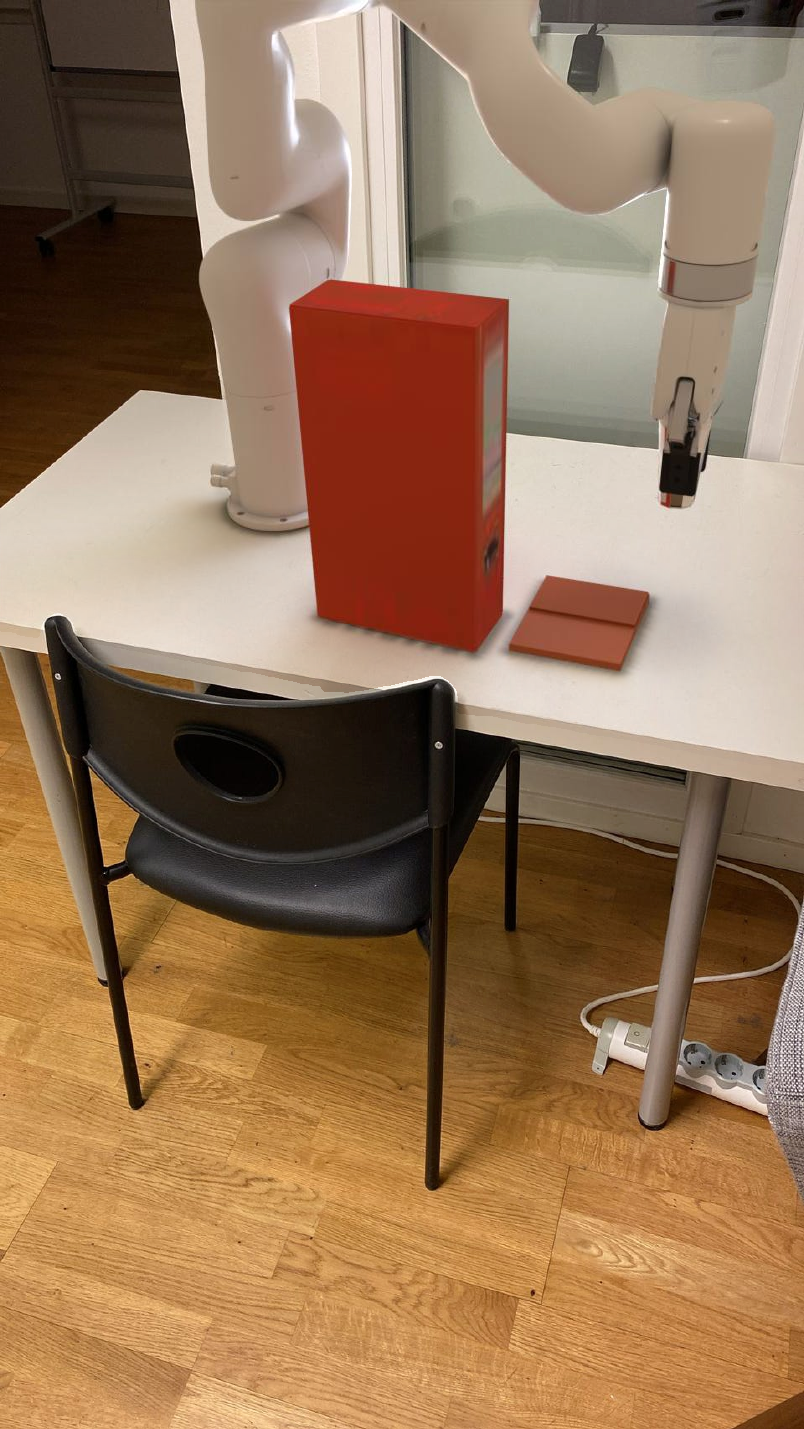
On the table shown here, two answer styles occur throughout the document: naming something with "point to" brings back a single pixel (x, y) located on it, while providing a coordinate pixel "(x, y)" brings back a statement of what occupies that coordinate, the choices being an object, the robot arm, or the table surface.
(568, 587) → the cloth
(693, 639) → the table surface
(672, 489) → the robot arm
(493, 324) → the file binder
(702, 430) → the milkshake
